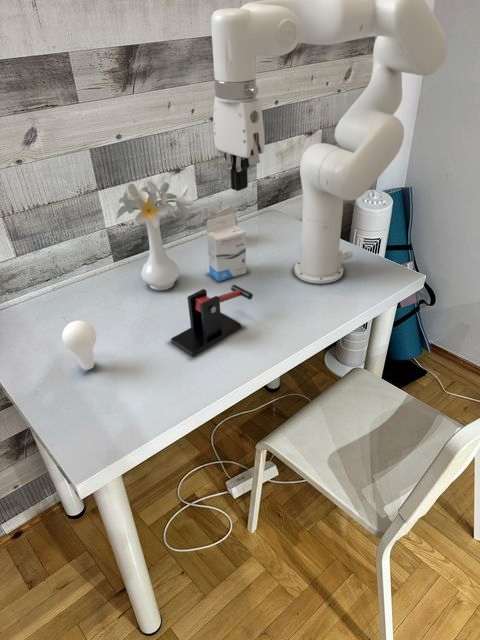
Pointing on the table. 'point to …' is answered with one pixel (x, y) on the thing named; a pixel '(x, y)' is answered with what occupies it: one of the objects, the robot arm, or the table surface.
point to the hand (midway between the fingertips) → (239, 188)
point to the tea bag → (224, 214)
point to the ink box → (226, 248)
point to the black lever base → (204, 325)
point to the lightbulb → (80, 342)
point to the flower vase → (155, 228)
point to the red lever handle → (226, 296)
